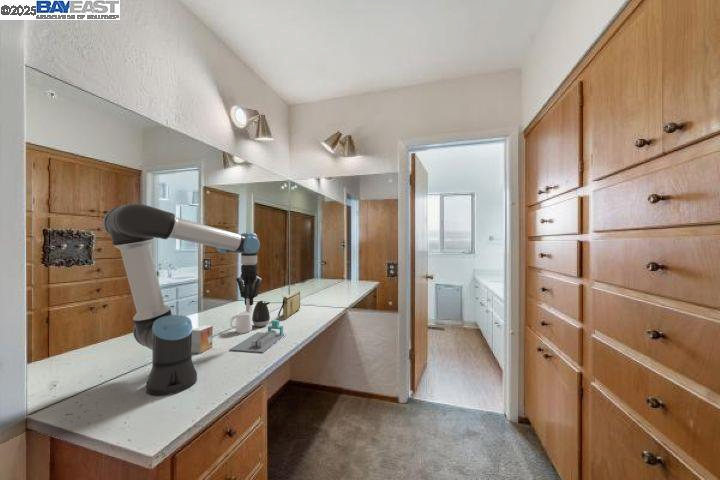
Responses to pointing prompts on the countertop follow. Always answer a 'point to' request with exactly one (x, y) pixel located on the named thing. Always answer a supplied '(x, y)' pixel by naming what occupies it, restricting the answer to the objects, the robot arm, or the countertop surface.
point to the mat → (247, 347)
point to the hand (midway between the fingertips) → (248, 311)
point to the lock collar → (275, 326)
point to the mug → (242, 322)
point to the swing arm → (254, 342)
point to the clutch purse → (290, 304)
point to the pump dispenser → (261, 314)
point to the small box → (201, 338)
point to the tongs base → (266, 339)
